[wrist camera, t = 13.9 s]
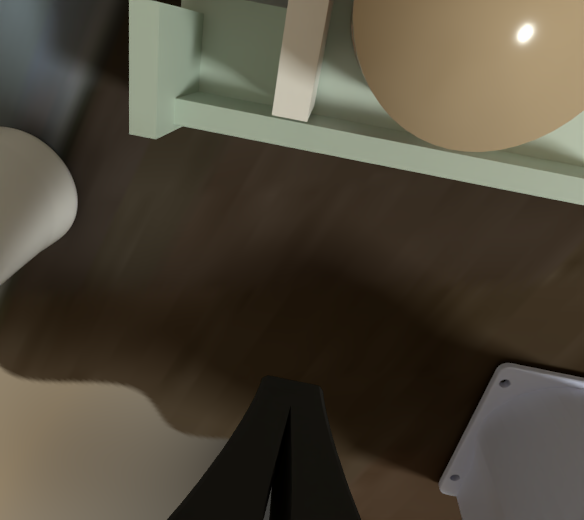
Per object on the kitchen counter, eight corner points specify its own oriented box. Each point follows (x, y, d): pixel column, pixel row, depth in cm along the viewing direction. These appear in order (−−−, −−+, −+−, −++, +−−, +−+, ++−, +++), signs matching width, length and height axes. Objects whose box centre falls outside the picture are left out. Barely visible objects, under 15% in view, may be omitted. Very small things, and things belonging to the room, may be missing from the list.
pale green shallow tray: (582, 190, 17) (670, 241, 12) (184, 111, 17) (129, 134, 12) (727, -98, 13) (936, -177, 8) (201, -196, 13) (128, -325, 8)
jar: (464, 129, 15) (546, 187, 9) (323, 76, 15) (313, 99, 9) (555, -45, 13) (747, -121, 7) (388, -114, 12) (436, -259, 6)
